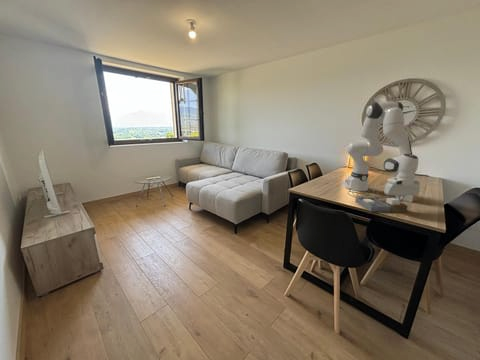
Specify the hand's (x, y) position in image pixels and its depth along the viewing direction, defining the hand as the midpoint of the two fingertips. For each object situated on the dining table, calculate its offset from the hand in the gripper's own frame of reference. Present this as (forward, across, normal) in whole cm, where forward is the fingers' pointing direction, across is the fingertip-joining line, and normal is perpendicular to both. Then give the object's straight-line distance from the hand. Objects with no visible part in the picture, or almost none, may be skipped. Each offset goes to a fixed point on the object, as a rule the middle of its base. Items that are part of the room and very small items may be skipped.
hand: (399, 201), depth 126 cm
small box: (+6, -22, -16) cm, 27 cm away
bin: (+5, +14, -4) cm, 16 cm away
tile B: (+1, +4, 0) cm, 4 cm away
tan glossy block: (+5, +2, -4) cm, 7 cm away
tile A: (+2, +14, -8) cm, 16 cm away
